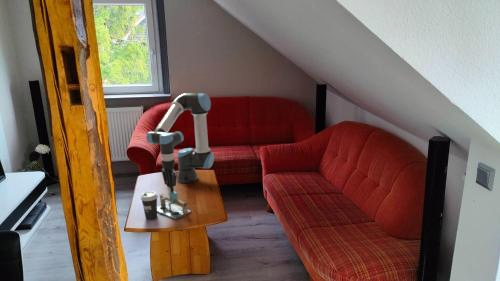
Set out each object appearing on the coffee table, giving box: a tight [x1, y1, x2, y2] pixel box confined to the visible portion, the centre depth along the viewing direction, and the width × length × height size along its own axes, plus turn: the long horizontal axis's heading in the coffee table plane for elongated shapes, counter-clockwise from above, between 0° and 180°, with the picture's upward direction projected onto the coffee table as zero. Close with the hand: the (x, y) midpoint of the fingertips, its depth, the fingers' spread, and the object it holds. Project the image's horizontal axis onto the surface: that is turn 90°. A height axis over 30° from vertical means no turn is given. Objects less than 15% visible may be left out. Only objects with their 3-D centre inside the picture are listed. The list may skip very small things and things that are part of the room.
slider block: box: [168, 190, 179, 211], centre depth 222 cm, size 6×3×10 cm, turn 142°
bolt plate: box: [157, 201, 192, 221], centre depth 224 cm, size 12×22×1 cm, turn 52°
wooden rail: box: [159, 193, 189, 214], centre depth 223 cm, size 5×22×6 cm, turn 52°
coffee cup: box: [140, 190, 158, 221], centre depth 214 cm, size 10×10×15 cm
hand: (171, 196), depth 223 cm, fingers closed
